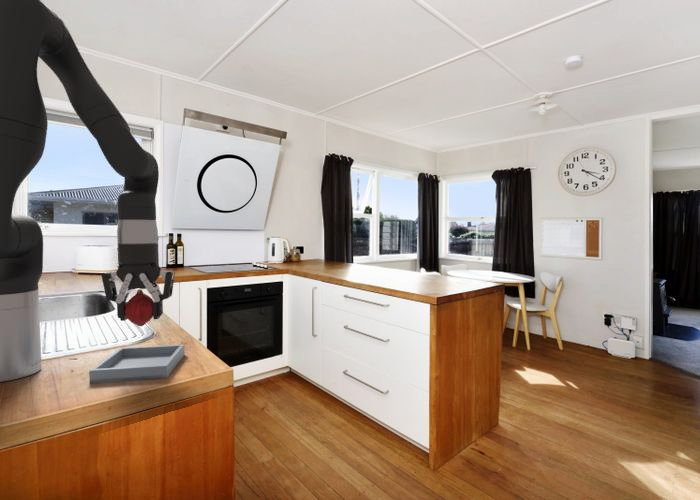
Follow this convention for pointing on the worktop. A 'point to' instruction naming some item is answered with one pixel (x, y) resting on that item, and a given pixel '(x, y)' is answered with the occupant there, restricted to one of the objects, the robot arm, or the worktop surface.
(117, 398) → the worktop surface
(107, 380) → the tray
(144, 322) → the onion
